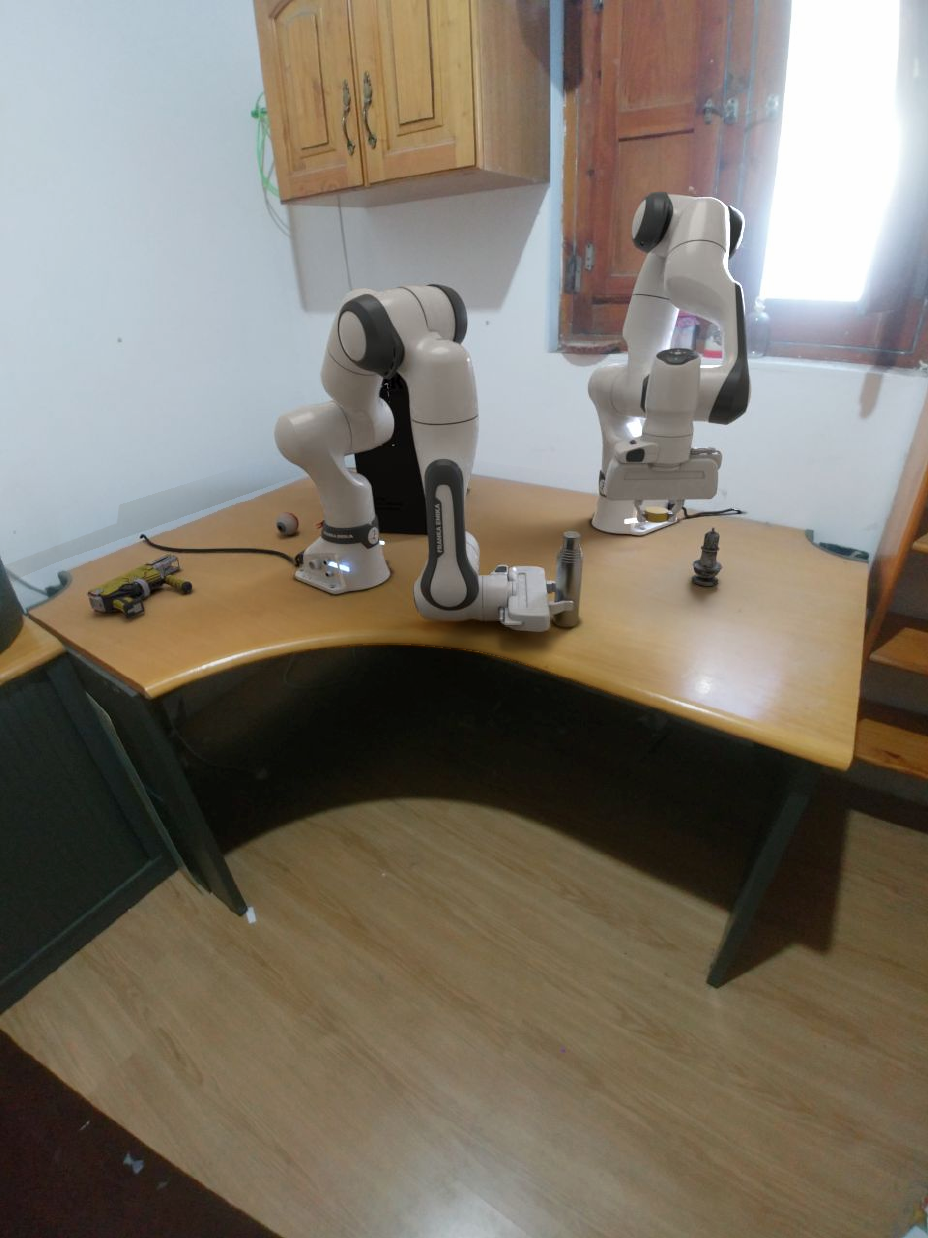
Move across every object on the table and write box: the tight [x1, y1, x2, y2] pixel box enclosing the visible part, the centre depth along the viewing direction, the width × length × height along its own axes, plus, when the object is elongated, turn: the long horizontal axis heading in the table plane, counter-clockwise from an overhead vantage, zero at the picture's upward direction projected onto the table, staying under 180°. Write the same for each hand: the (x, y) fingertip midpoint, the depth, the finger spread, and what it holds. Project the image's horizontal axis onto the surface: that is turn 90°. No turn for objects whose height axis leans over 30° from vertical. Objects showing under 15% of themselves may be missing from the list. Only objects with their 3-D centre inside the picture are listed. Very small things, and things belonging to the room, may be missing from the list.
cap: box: [645, 507, 668, 523], centre depth 115 cm, size 4×4×2 cm
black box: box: [353, 343, 469, 535], centre depth 166 cm, size 38×20×45 cm, turn 167°
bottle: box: [552, 530, 584, 628], centre depth 113 cm, size 5×5×18 cm
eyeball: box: [275, 511, 300, 536], centre depth 163 cm, size 6×6×6 cm
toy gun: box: [86, 553, 193, 620], centre depth 136 cm, size 5×24×15 cm
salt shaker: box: [691, 527, 723, 587], centre depth 126 cm, size 6×6×12 cm
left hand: (571, 596), depth 115 cm, fingers closed on bottle, 5 cm apart
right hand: (655, 521), depth 115 cm, fingers closed on cap, 4 cm apart
